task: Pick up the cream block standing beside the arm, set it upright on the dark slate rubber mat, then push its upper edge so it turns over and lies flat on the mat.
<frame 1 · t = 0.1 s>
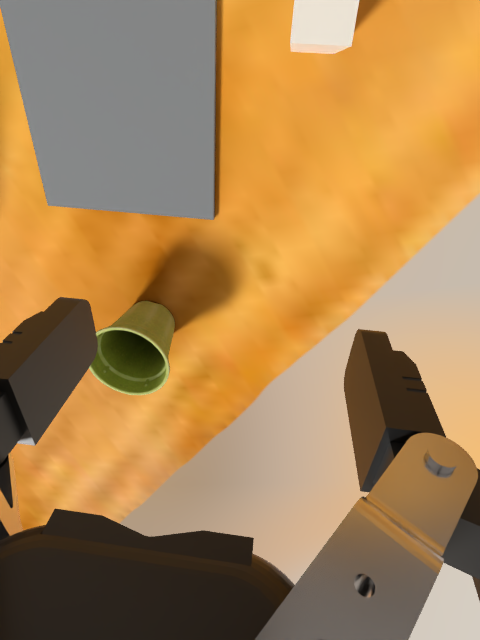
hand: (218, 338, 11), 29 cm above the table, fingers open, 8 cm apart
plant pot: (152, 319, 48), on the table
slate mat: (117, 90, 34), on the table
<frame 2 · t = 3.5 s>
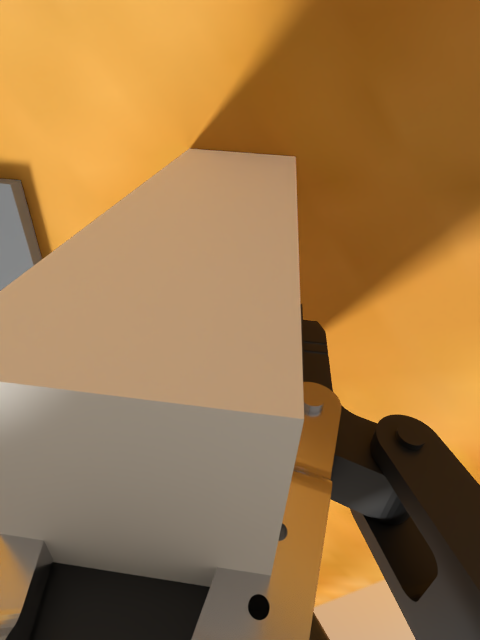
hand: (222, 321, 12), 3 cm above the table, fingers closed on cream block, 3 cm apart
cream block: (236, 275, 15), on the table, touching gripper
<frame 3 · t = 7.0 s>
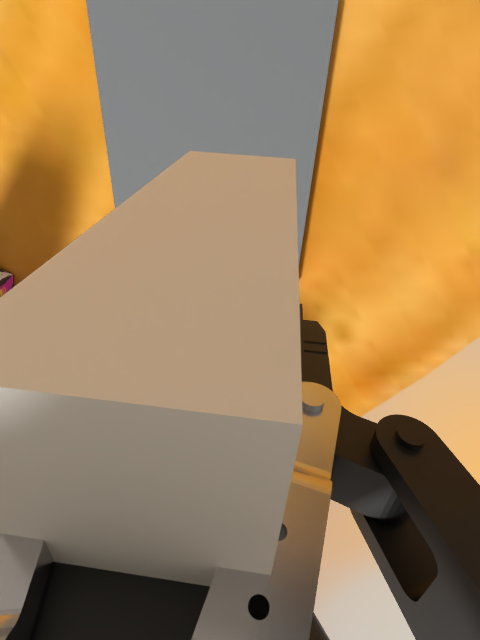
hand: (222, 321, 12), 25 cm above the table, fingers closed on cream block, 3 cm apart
cream block: (236, 277, 15), point 21 cm above the table, touching gripper
slate mat: (209, 160, 33), on the table
when the fingers open (5 cm above the table, at t = 10.8 s): cream block drops 1 cm, resting on slate mat.
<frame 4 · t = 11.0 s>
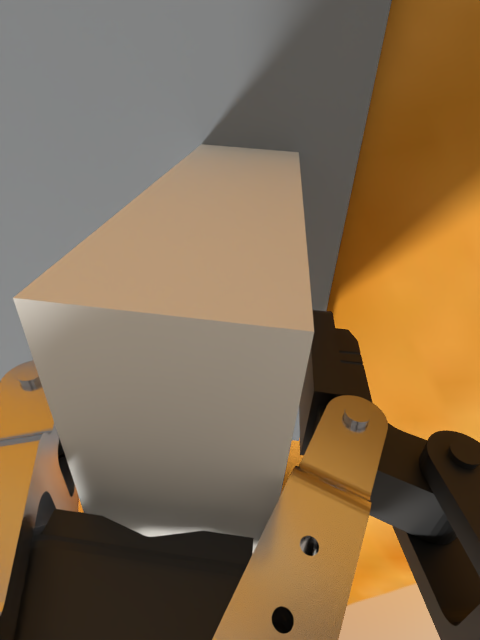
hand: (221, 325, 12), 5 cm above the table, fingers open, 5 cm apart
cream block: (242, 263, 16), point 1 cm above the table, touching slate mat
slate mat: (130, 245, 17), on the table
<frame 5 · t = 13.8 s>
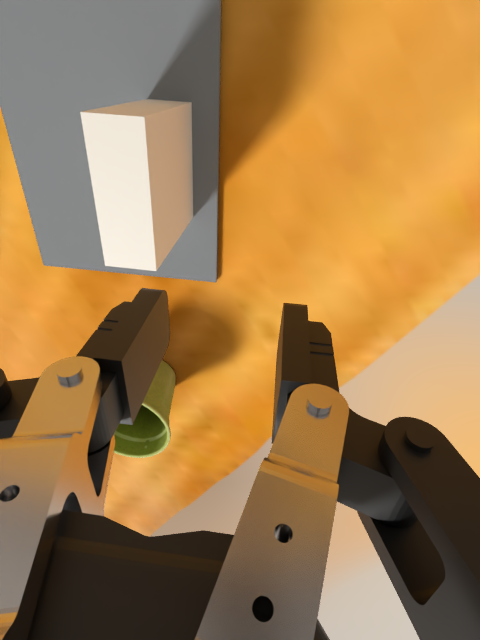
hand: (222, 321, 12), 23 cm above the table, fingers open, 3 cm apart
cream block: (171, 162, 31), point 1 cm above the table, touching slate mat
plant pot: (152, 372, 46), on the table
slate mat: (115, 156, 32), on the table
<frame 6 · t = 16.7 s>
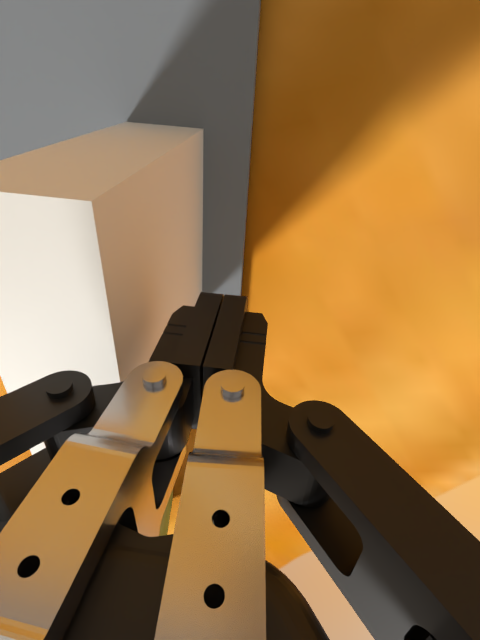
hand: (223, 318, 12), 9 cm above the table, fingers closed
cream block: (168, 223, 19), point 1 cm above the table, touching gripper, slate mat
slate mat: (77, 209, 20), on the table
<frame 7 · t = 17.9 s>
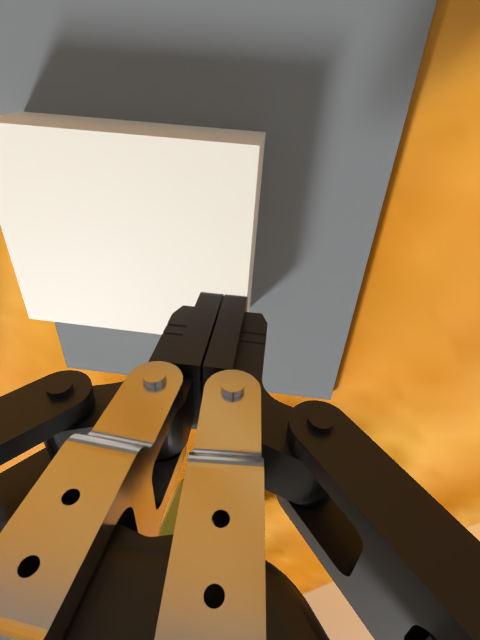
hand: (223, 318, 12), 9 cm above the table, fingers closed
cream block: (253, 245, 17), point 2 cm above the table, tilted 90°, touching slate mat
plant pot: (210, 491, 34), on the table
slate mat: (194, 220, 19), on the table
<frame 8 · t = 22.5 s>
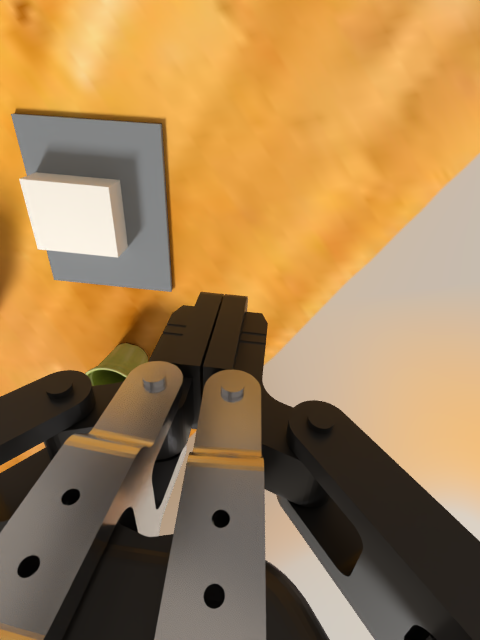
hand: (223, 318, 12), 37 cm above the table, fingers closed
cream block: (118, 219, 48), point 2 cm above the table, tilted 90°, touching slate mat
plant pot: (131, 355, 64), on the table
slate mat: (101, 211, 50), on the table
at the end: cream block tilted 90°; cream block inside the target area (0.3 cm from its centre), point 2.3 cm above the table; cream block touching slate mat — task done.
